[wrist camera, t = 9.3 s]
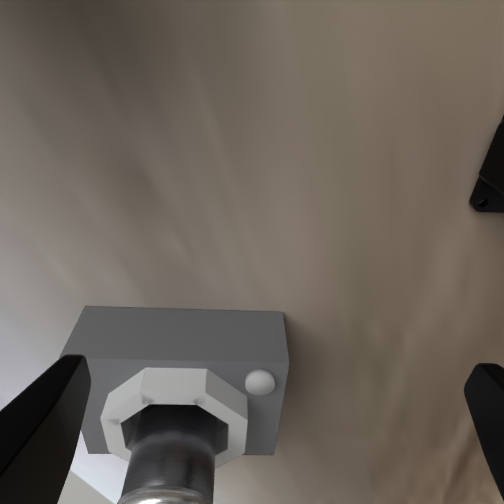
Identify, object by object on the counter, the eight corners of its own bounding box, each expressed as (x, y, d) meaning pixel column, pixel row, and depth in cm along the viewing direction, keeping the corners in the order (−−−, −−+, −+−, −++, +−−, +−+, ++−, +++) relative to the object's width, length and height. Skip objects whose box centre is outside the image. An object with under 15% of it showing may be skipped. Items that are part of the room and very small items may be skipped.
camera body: (282, 312, 24) (292, 386, 19) (269, 402, 29) (275, 478, 24) (85, 306, 23) (47, 381, 19) (106, 399, 28) (80, 477, 24)
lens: (162, 376, 21) (133, 522, 15) (234, 404, 22) (232, 547, 17) (127, 419, 23) (89, 563, 17) (195, 442, 24) (181, 581, 19)
